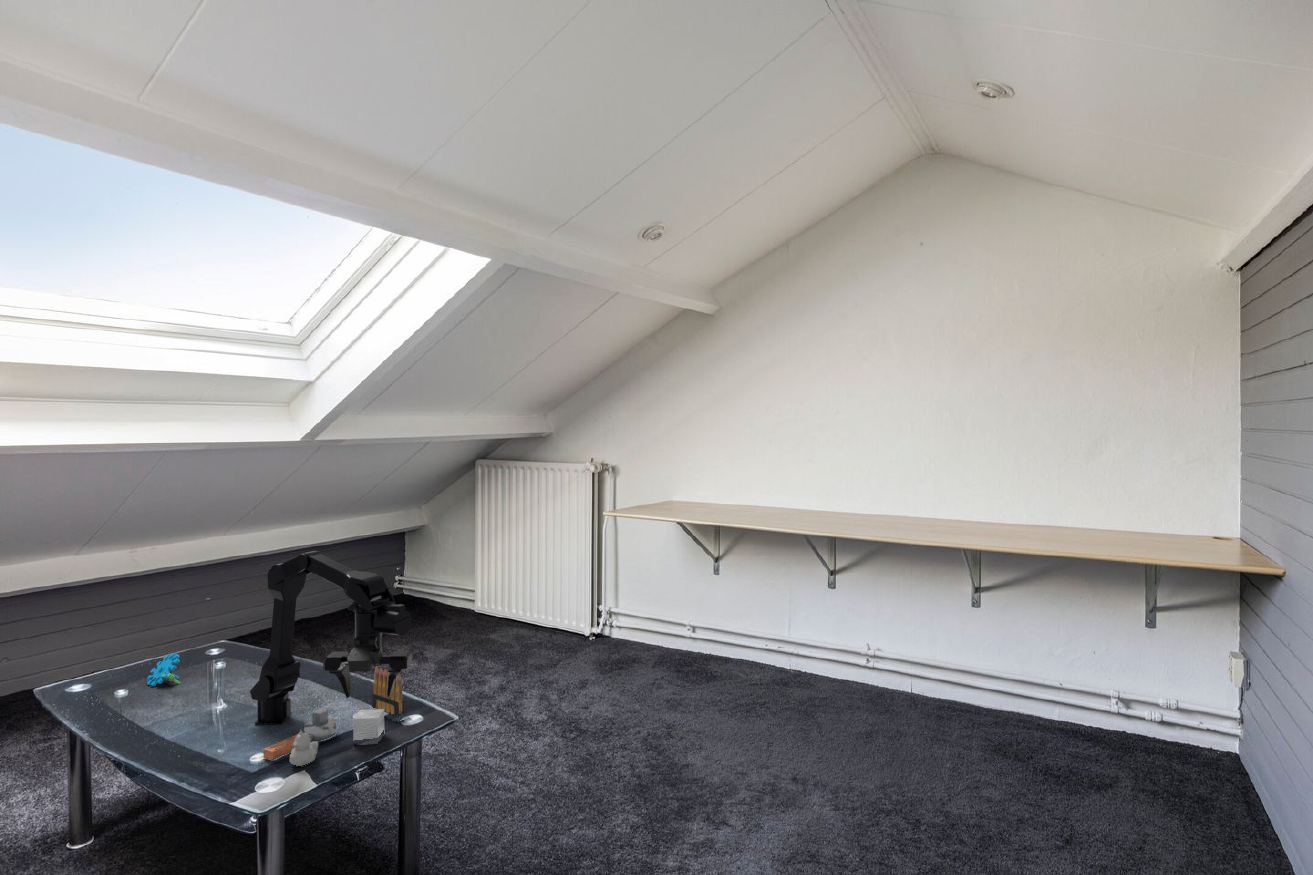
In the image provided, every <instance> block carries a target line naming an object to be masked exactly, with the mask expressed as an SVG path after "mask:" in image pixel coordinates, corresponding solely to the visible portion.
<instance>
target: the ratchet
mask: <svg viewBox="0 0 1313 875" xmlns="http://www.w3.org/2000/svg"><path fill="white" fill-rule="evenodd" d="M311 713H312V714H311V715H312V716H311V717H312V718H311V720H310V721H307V722H306V723H305V724H303V725H304V726H303V734H304V733H306V734H307V735H308V736H309V737H310V743H311V742H313V741H314V742H315V741H321V740H324V739H327V738H329V737H331V736H333V735H335V734H336V735H337V719H335V718H331V717H329V710H327V709H324V708H319V709H316V710H314V711H312V712H311ZM298 734H299V733H297V734H295V735H292V736H290V737H288V738H285V739H283V740H281V741H278V742H276V743H275V744H272V745H270V746H268V747H265V748H263V752H262V754H263V757H262V758H266V759H271V760H274V759H276V758H278V757H280V756H282V755H285V754H288V753H290V752H291V751H292V749H293V748H294V745H293V743H294V741H295V738H296V737H297V735H298Z"/></svg>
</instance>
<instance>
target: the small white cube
mask: <svg viewBox="0 0 1313 875" xmlns="http://www.w3.org/2000/svg"><path fill="white" fill-rule="evenodd" d="M352 719H353V721H352V722H353V723H352V725H353V727H352V732H353V733H352V736H353V739H352V740H353V741H354V740H363V739H373V738H378V737H379V736H380V735H381V733H382V732H383V730H384V731H385V718H384V709H372V708H370V709H360V710H359V711H358V712H357V714H355V716H354V717H353V718H352Z"/></svg>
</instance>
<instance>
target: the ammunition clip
mask: <svg viewBox="0 0 1313 875" xmlns="http://www.w3.org/2000/svg"><path fill="white" fill-rule="evenodd" d="M388 678H389V675H388V670H387V669H386V668H384V670H383V668H382V667H380V669H379V667H378V665H377V666H376V665H375V670H374V680H373V693H372V695H371V696H372V700H371V701H372V703H371V705H372V706H371V708H372V707H373V708H378V709H384V711H386V712H388V713H389V712H391V714H395V715H399V714H402V713H403V714H404V715H405V701H404V699H403V687H402V677H401V674H400V672H399V673H398V675H397V678H396V680H395V683H394V686H393V689H392V692H391V695H390V697H388V696H387V688H388Z"/></svg>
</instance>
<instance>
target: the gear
mask: <svg viewBox="0 0 1313 875" xmlns="http://www.w3.org/2000/svg"><path fill="white" fill-rule="evenodd" d="M179 658H180V654H178V653H174V652H172V653H171V654H170V655H165V656H164V657H163V660H159V661H158V662H157V663H156V666H157V667H156V668H155V667H153V668H152V669H151V670H150V673H151V674H152V675H151V674H150V675H148V676H147V679H146V680H147V685H148V686H152V687H156V686H157V684H158V685H160V684H162V683H163V682H164V679H166V680H168V681H169V682H174V683H175V684H177V685H180V684H181V681H180V680H178V679H179V677H180V676H179V675H176V674H175V673H173V672H175V670H176V669H177V667H178V666H176V665H178V664H179V663H180V661H181V660H180V659H179Z"/></svg>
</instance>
